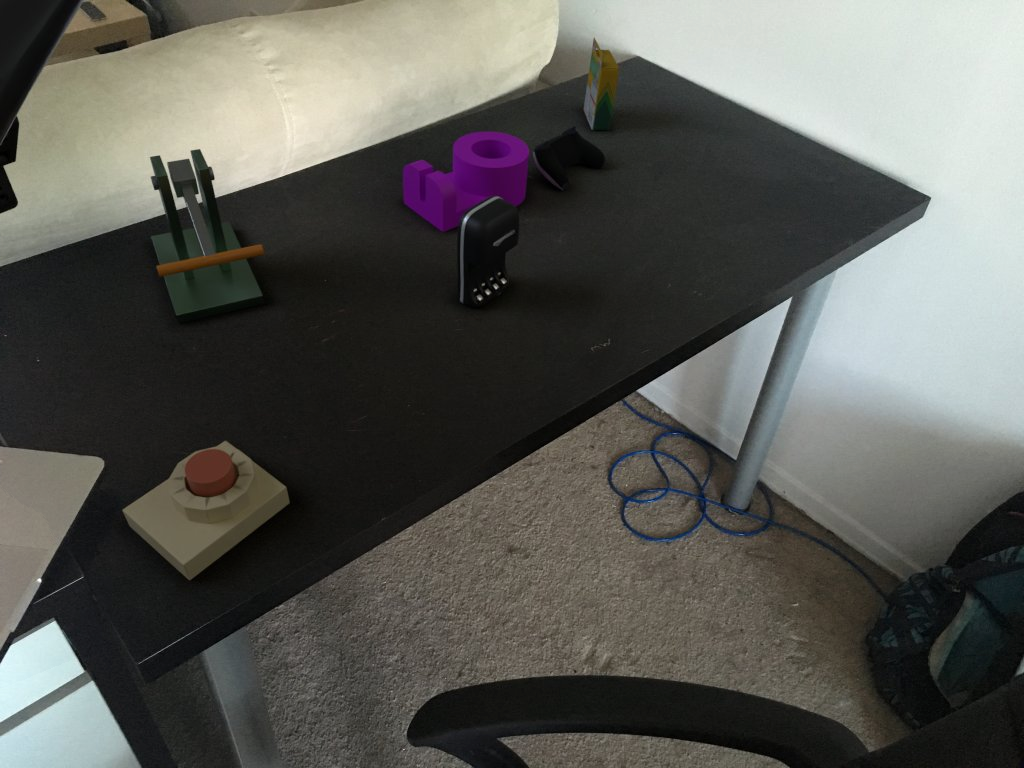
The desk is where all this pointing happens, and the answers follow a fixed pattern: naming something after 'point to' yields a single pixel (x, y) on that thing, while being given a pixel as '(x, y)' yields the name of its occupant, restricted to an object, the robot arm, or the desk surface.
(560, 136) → the gaming controller
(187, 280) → the switch bracket
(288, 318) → the desk surface
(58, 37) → the robot arm
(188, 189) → the lever
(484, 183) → the purple bearing bracket
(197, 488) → the stop button
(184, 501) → the stop housing
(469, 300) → the battery charger
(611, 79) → the crayon box
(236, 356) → the desk surface
